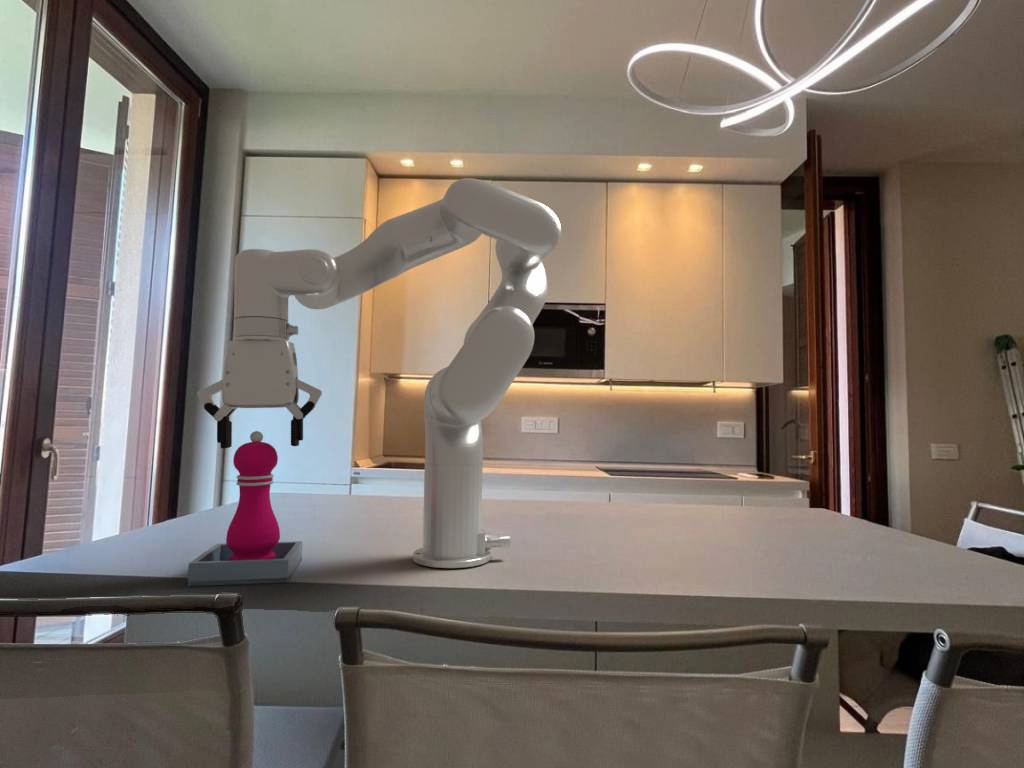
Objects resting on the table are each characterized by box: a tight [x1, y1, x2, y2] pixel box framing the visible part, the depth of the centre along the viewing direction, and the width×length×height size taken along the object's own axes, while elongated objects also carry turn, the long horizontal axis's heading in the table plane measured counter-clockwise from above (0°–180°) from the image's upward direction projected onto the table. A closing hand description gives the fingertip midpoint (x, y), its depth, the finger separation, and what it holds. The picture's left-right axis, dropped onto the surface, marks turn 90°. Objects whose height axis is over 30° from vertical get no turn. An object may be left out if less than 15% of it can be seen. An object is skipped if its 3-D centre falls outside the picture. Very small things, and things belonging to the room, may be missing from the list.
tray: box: [187, 540, 303, 587], centre depth 83 cm, size 13×13×3 cm
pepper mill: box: [225, 430, 281, 561], centre depth 84 cm, size 7×7×20 cm
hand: (261, 446), depth 84 cm, fingers open, 9 cm apart
